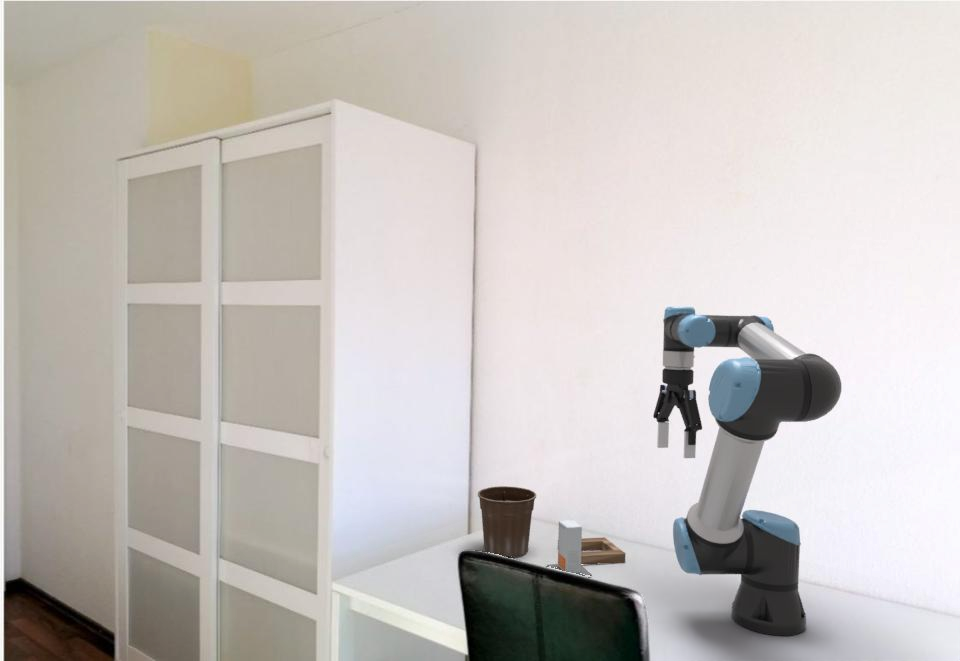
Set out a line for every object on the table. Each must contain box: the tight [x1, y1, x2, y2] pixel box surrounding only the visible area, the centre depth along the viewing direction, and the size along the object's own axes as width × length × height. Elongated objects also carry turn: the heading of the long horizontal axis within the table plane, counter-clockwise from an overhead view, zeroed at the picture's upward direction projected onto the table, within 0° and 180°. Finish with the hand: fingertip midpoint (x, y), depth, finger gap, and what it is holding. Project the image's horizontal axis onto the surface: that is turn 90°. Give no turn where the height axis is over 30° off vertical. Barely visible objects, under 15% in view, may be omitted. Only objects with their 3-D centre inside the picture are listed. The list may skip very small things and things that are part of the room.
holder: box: [581, 536, 626, 565], centre depth 202 cm, size 14×14×2 cm
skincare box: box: [557, 519, 583, 573], centre depth 189 cm, size 6×4×12 cm
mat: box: [545, 563, 593, 577], centre depth 189 cm, size 9×9×1 cm
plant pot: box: [477, 485, 537, 559], centre depth 204 cm, size 16×16×16 cm
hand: (675, 452), depth 186 cm, fingers open, 13 cm apart
